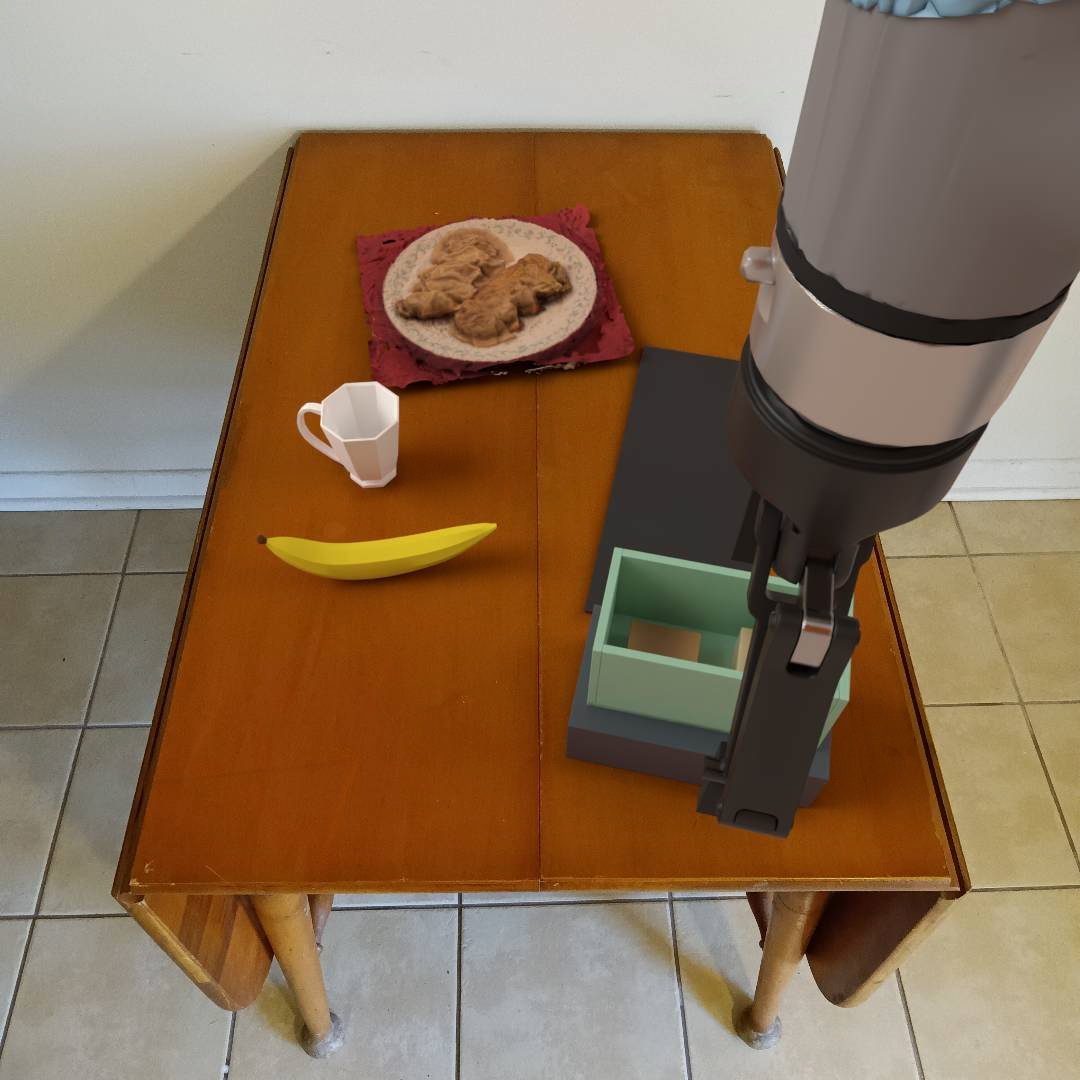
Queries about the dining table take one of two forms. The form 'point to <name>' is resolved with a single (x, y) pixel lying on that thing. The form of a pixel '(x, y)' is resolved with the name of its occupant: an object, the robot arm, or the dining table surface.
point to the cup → (358, 431)
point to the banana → (377, 552)
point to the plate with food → (488, 298)
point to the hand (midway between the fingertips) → (743, 675)
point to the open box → (687, 604)
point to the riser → (655, 738)
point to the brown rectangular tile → (664, 641)
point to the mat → (675, 468)
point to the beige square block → (741, 649)
